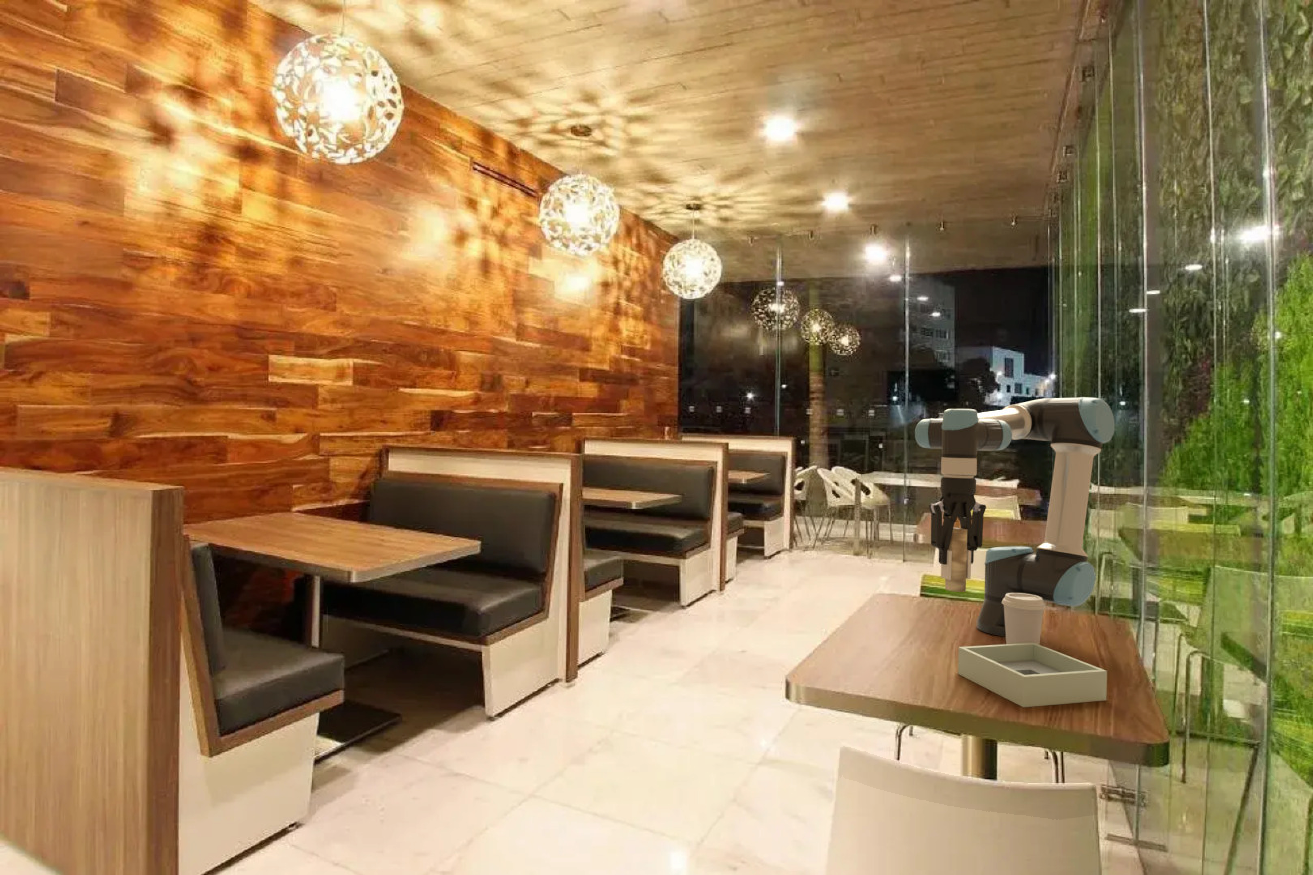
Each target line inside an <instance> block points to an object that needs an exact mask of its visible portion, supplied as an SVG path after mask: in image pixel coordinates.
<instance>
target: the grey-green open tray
mask: <svg viewBox="0 0 1313 875" xmlns="http://www.w3.org/2000/svg"><path fill="white" fill-rule="evenodd" d="M957 657H958V658H957V660H958V661H957V662H958V663H957V675H958V676H959V675H960V676H961V677H964V678H965V679H968V680H969V681H971V682H973V683H974V684H977V685H979V686H981V687H982V688H985V689H986V690H989V691H991V692H993V693H994V694H997V695H999V696H1000V697H1002V698H1004V699H1006V700H1008V701H1009V702H1010V701H1011V702H1012V703H1014V704H1016V705H1018V706H1020V707H1022V708H1029V707H1030V708H1032V707H1042V706H1053V705H1056V706H1057V705H1066V704H1079V703H1089V702H1100V701H1107V688H1108V687H1107V684H1108V670H1105V669H1103V668H1100V667H1098V666H1096V665H1093V664H1091V663H1087V662H1085V661H1082V660H1080V659H1077V658H1074V657H1073V656H1069V655H1067V654H1064V653H1062V652H1059V651H1056V650H1054V649H1051V648H1049V647H1046V646H1044V645H1041V644H1040V643H1039V644H1036V643H1020V644H1005V643H1002V644H990V645H989V644H988V645H973V646H972V645H971V646H959V647H958V656H957Z"/></svg>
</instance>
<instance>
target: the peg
mask: <svg viewBox="0 0 1313 875" xmlns="http://www.w3.org/2000/svg"><path fill="white" fill-rule="evenodd" d="M948 550H950V551H952V563H951V580H947V579H944V590H946V591H949V592H955V593H956V592H958V593H963V592H964V593H965V592H966V591H967V585H966V584H967V579H966V562H967V529H964V528H961V527H955V526H954V527H953V532H952V536H951V541H950V545H949V549H948Z"/></svg>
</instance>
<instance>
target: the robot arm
mask: <svg viewBox="0 0 1313 875" xmlns="http://www.w3.org/2000/svg"><path fill="white" fill-rule="evenodd" d="M1114 434H1115V418H1114V414H1113V412H1112V409H1111V406H1110V405H1109V404H1108V403H1107V402H1106V401H1105V400H1103V399H1102V398H1098V397H1086V396H1080V397H1058V398H1056V397H1054V398H1051V397H1049V398H1048V397H1047V398H1038V399H1034V400H1029V401H1025V402H1019V403H1015V404H1010V405H1007V406H1005V407H1003V408H1002V409H1000V410H993V411H984V412H978V411H977V410H976V409H972V408H948V409H946V410H944V411H943V413H942V418H925V419H924V418H923V419H921V420H919V422H918V423H917V424H916V426H915V430H914V438H915V441H916V443H917V444H918V446H919V447H921V448H925V449H930V450H934V449H935V450H936V449H939V450H941V462H940V463H941V466H940V473H941V475H943V476H941V477H940V492H941V497H940V499H939V501H938V502H935V503H929V504H928V508H929V511H930V545H931V547H934V548H936V549H938V563H939V564H940V565H941V566H940V567H941V568H940V578H941V579H944V580H945V579H947V580H951V563H952V551H950V550H948V549H949V545H950V541H951V536H952V532H953V527H955V523H956V522H957V519H958V521H959V523H960V528H964V529H967V562H966V580H971V574H972V573H971V572H972V571H971V570H972V569H971V568H972V566H971V565H973V564H974V559H975V558H974V557H975V556H974V554H975V552H976V551H977V550H978V548H981V547H982V546H983V536H984V535H983V532H984V515H985V512H986V509H987V505H986V504H983V503H980V502H979V503H978V502H977V500H976V498H975V494H976V493H977V479H976V477H975V476H977V474H978V472H977V470H978V466H977V465H978V463H977V461H978V460H977V459H978V457H977V456H978V452H979V451H982V452H984V451H985V452H986V451H988V452H997V451H1002V450H1005V449H1006V448H1007V447H1009V445H1010V443H1011V441H1012V440H1014V441H1015V440H1016V441H1017V440H1035V441H1046V442H1050V447H1051V448H1052V450H1054V452H1055V457H1054V458H1055V459H1054V466H1053V473H1052V481H1051V489H1050V496H1049V503H1048V504H1049V505H1048V509H1047V510H1048V512H1047V519H1046V525H1045V526H1046V527H1045V533H1044V534H1045V535H1044V541H1043V542H1042V543H1041V544H1040V545H1038V546H1037V547H1036V551H1035V553H1034V550H1033V547H1032V546H1031V547H1030V546H997V547H996V546H995V547H991V548H988V549H987V551H986V553H985V561H984V598H983V603H982V606H981V608H980V611H979V615H978V616H977V618H976V629H978V630H979V631H981V632H984V633H985V634H986V633H987V634H991V635H993V636H994V635H995V636H998V637H999V636H1000V637H1003V638H1004V637H1005V638H1006V630H1005V615H1004V605H1003V604H1002V600H1003V598H1005V595H1006V594H1007V593H1025V594H1032V595H1036V596H1039V597H1041V598H1042V599H1043V602H1048V603H1052V604H1055V605H1058V606H1059V605H1060V606H1068V607H1079V606H1080V605H1083V604H1084V603H1086V601H1087V600H1089V598H1090V596H1091V595H1092V593H1093V590H1094V588H1095V584H1096V579H1097V578H1096V577H1097V576H1096V573H1095V571H1096V570H1095V566H1094V565H1093V564H1091V563H1090V562H1088V557H1089V555H1088V554H1087V553H1086V552H1085V551H1084V549H1083V544H1084V543H1083V542H1084V534H1085V524H1086V518H1087V512H1088V510H1087V509H1088V503H1089V502H1088V501H1089V496H1090V486H1091V479H1092V473H1093V471H1092V470H1093V464H1094V457H1095V456H1096V455H1097V454H1099V453H1100V452H1102V447H1103V444H1106V443H1108V442H1110V441H1111V440H1112V437H1113V436H1114ZM974 551H975V552H974Z"/></svg>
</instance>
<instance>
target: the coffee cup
mask: <svg viewBox="0 0 1313 875" xmlns="http://www.w3.org/2000/svg"><path fill="white" fill-rule="evenodd" d="M1002 604H1003V605H1004V615H1005V630H1006V637H1005V641H1006V644H1020V643H1036V644H1039V645H1040V642H1041V641H1040V640H1041V635H1042V633H1041V632H1042V626H1043V625H1042V624H1043V619H1044V618H1043V616H1044V610H1046V609H1047V606H1046V603H1045V601H1043V599H1042V598H1041V597H1039V596H1036V595H1032V594H1025V593H1007V594H1006V595H1005V598H1003V600H1002Z"/></svg>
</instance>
